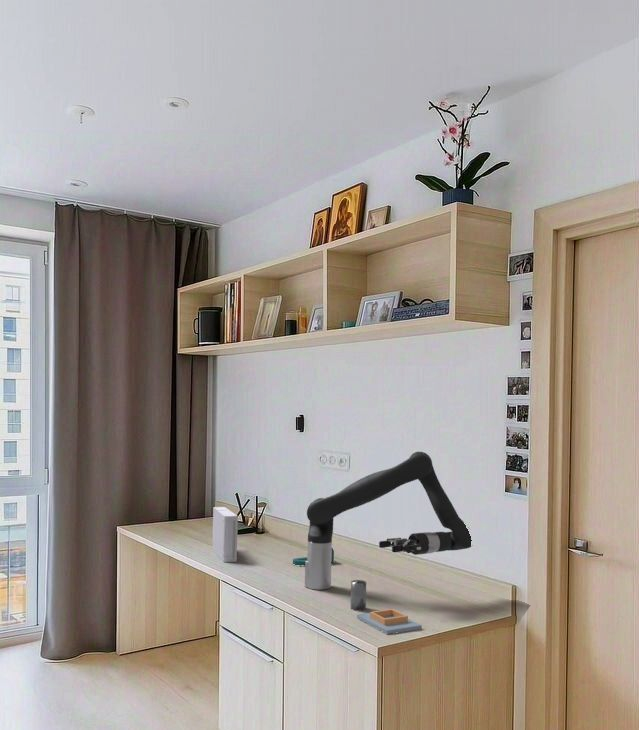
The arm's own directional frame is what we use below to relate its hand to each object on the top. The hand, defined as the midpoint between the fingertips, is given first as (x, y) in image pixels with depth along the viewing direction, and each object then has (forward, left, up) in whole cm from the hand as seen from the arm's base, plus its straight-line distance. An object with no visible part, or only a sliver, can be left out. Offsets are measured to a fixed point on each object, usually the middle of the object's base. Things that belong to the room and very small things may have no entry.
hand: (386, 546), depth 257 cm
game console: (-91, +38, -20) cm, 101 cm away
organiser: (+8, -20, -20) cm, 29 cm away
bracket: (-50, +45, -21) cm, 71 cm away
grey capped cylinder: (-7, -9, -20) cm, 23 cm away
